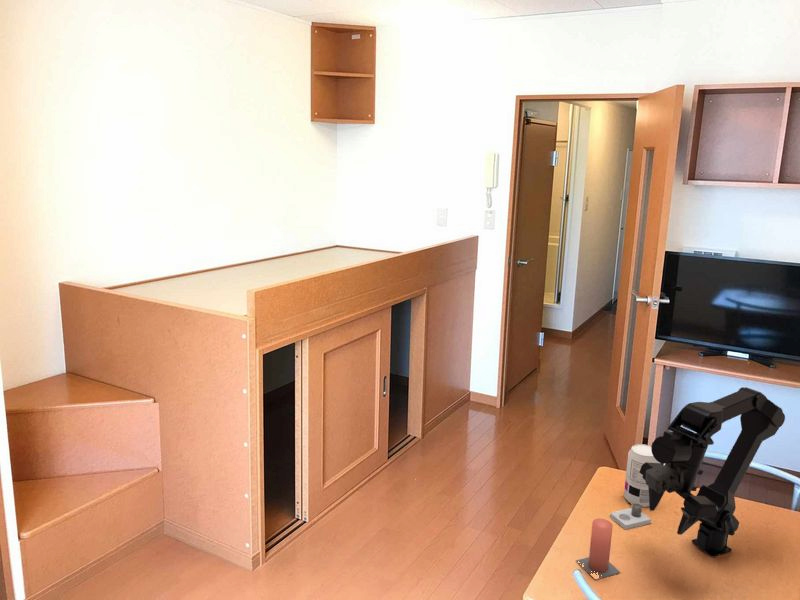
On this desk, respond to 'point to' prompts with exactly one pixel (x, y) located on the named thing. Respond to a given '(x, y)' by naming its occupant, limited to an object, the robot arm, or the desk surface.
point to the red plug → (600, 545)
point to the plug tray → (630, 517)
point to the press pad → (609, 572)
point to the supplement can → (637, 475)
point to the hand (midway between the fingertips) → (664, 521)
